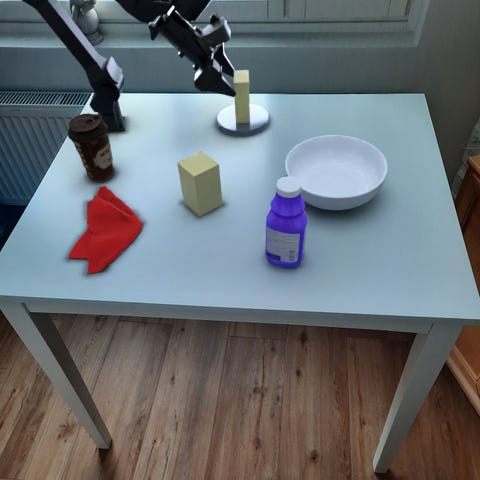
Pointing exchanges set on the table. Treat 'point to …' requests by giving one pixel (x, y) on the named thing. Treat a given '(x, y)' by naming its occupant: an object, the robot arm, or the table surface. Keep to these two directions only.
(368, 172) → the serving bowl
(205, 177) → the butter block
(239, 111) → the butter slice
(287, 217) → the bottle
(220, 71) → the robot arm
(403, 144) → the table surface
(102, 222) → the cloth
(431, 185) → the table surface
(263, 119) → the saucer
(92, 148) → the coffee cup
